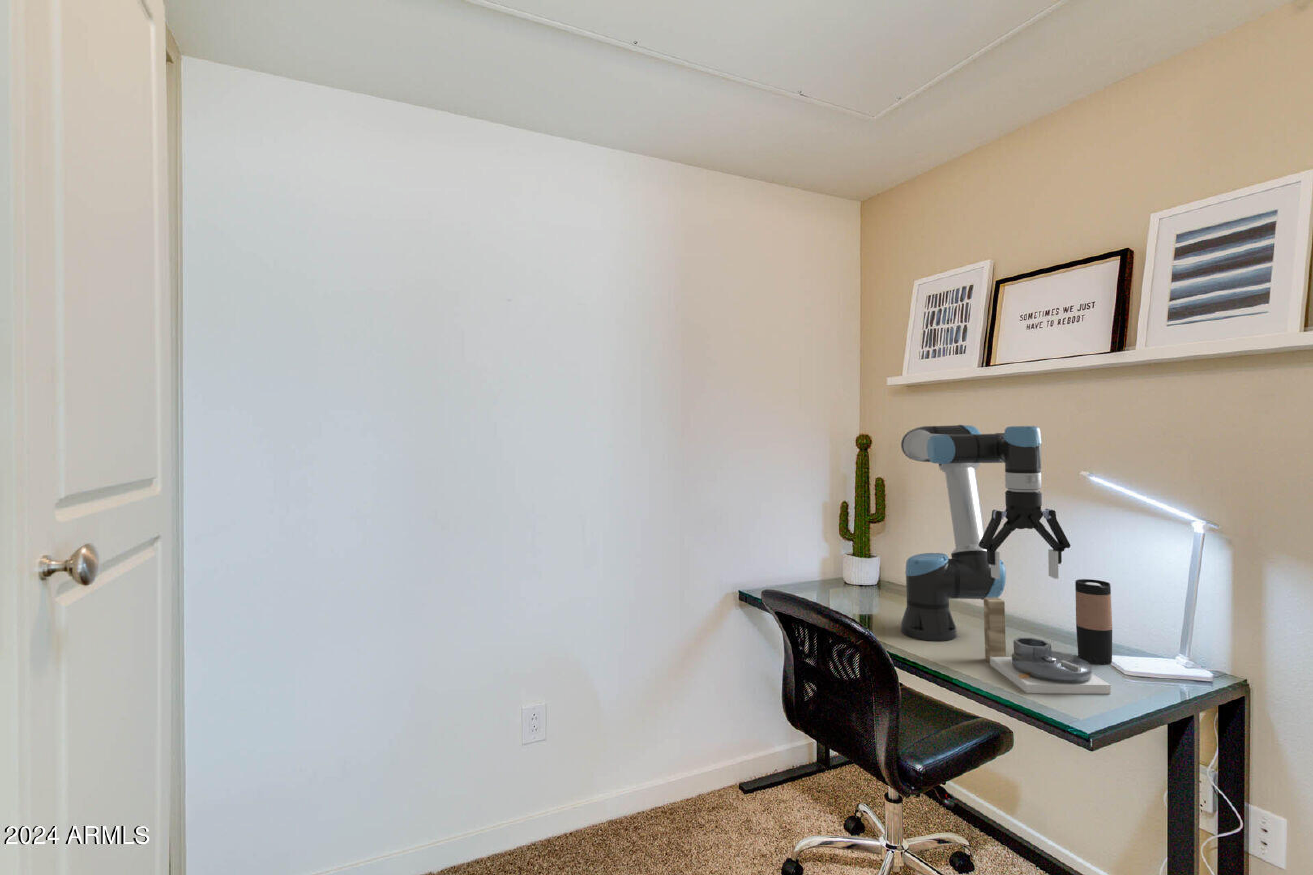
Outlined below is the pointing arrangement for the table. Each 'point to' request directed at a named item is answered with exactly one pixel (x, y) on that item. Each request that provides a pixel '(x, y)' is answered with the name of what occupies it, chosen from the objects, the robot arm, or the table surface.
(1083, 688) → the plate
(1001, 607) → the stick
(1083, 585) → the travel mug
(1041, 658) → the dial
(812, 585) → the table surface
